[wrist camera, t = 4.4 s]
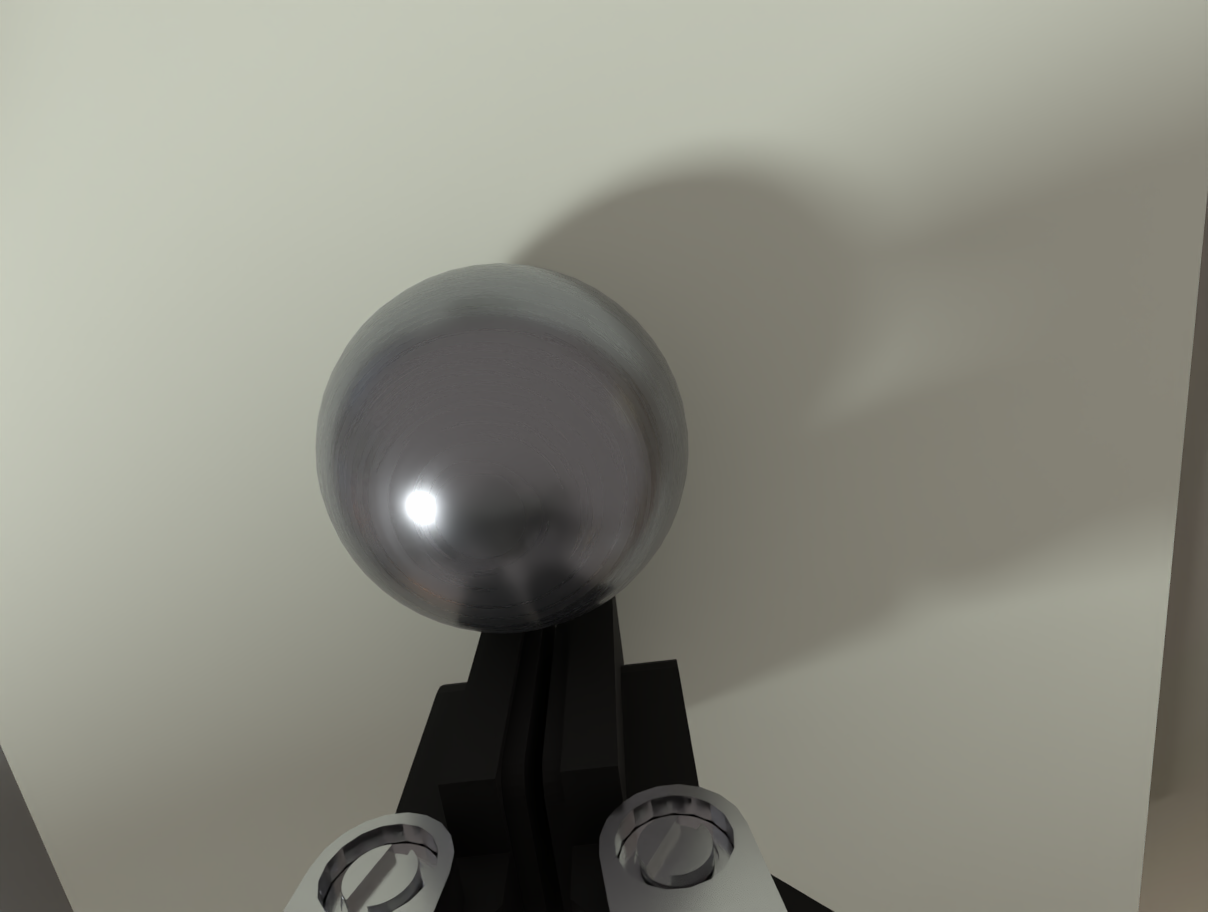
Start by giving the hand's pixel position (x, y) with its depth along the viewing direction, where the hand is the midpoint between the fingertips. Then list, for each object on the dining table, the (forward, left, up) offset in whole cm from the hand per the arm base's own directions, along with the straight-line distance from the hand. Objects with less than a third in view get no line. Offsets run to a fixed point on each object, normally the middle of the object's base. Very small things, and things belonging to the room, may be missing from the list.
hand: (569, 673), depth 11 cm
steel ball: (+4, 0, +1) cm, 4 cm away
